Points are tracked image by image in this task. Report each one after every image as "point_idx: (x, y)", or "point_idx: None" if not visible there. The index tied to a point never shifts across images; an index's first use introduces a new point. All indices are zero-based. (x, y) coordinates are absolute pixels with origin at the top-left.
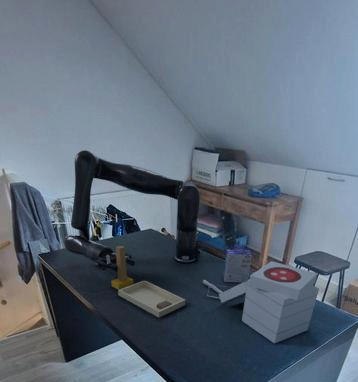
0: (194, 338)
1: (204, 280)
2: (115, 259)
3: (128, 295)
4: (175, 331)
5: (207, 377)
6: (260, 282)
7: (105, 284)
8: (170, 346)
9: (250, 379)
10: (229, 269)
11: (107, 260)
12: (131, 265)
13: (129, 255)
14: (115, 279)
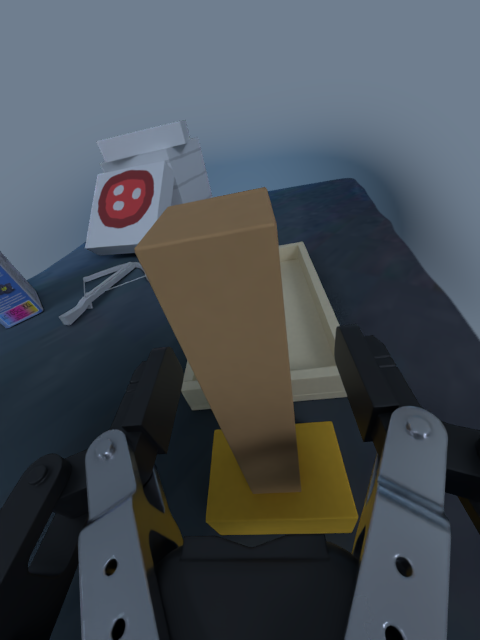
0: (286, 223)
1: (65, 315)
2: (242, 546)
3: (334, 316)
4: (300, 235)
5: (326, 192)
6: (183, 128)
7: None
8: (334, 218)
9: (288, 190)
10: (14, 277)
11: (428, 506)
12: (180, 391)
13: (46, 476)
14: (315, 515)
